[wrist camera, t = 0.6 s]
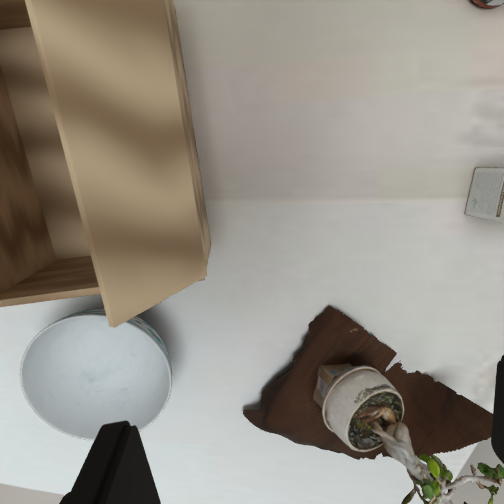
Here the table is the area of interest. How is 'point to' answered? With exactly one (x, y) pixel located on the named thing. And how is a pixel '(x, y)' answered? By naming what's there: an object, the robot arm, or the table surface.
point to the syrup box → (487, 194)
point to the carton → (52, 174)
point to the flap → (123, 145)
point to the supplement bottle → (488, 3)
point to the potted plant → (373, 408)
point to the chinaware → (96, 374)
